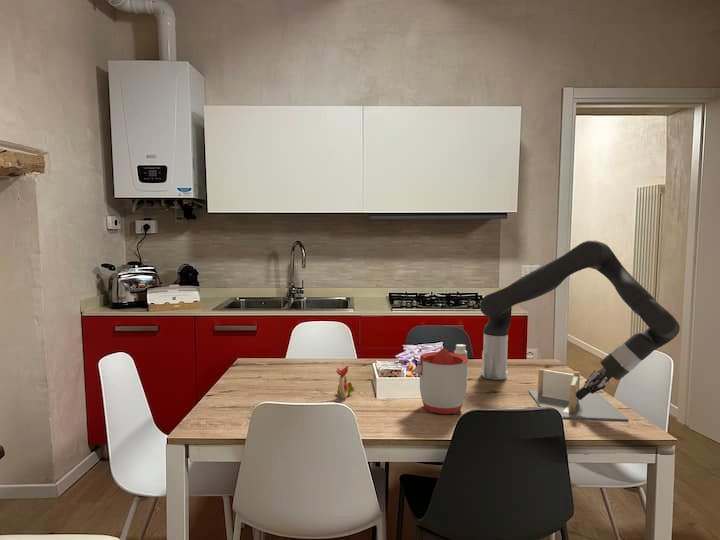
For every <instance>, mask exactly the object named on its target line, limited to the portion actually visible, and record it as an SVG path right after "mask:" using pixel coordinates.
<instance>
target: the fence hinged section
mask: <svg viewBox="0 0 720 540" xmlns="http://www.w3.org/2000/svg"><path fill="white" fill-rule="evenodd" d="M577 391H578V376H574V378H573V381H572V383H571V384H570V388H569V412H571V413H575V407H576V404H577V397H576V392H577Z"/></svg>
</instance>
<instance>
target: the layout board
mask: <svg viewBox="0 0 720 540" xmlns="http://www.w3.org/2000/svg"><path fill="white" fill-rule="evenodd" d="M528 393H529V395H530V396H531V398H534V399H535V400H534V399H533V400H534V401H535V402H537V403H538V404H539V405H540V407H544V406H548V407H554V408H556V409H558V410H559V411H560V413H561V414H562V417H563V419H564V418H571V419H570V420H587V419H596V420H595V421H614V422H615V421H616V422H619V421H621V422H622V421H623V422H629V421H630V420H629V418H628V417H627V416H626V415H625V414H624V413H622V412H621V411H620V410H618V408H616V407H615V406H614V405H613V404H612V403H610V402H609V401H608V400H607V399H606V398H605V397H603V395H602V394H600V393H598V392H595V393H593V394H592V393H589V394H587V395H586V396H585V397H584V398H582V399H581V400H579V402H577V404H576V407H575V413H571V412H569V400H564V399H559V398H553V397H548V396H543V395H538V390H528ZM537 403H536V404H537ZM538 404H537V405H538ZM539 405H538V406H539ZM540 407H539V408H540Z"/></svg>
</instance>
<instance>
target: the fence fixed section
mask: <svg viewBox="0 0 720 540" xmlns="http://www.w3.org/2000/svg"><path fill="white" fill-rule="evenodd" d="M537 375H538V377H537V378H538V379H537V391H538V395H543V396H548V397H553V398H559V399H564V400H569V388H570V384H571V383H572V381H573V378H574V376H578V391H579V390H580V383H581V382H580V377H581V372H580V371H577V370H576V371H573V373H569V372H561V371H556V370H555V371H554V370H549V369H544V368H538V374H537ZM577 402H579V399H578V398H577Z"/></svg>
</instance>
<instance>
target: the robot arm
mask: <svg viewBox="0 0 720 540" xmlns="http://www.w3.org/2000/svg"><path fill="white" fill-rule="evenodd" d="M588 268H589V269H592V270H596V271H597V272H599V273H600V274H601V275H603V276H604V277H605V278H606V279H607V280H608V281H609V282H610V283H611V284H612V286H613V287H614V289H615V291H616V292H617V294H618V295H619V297H620V298H621V299H622V301H623V302H624V303H625V304H626V305H627V306H628V307H629V308H630V309H631V310H632V311H633V312H634V313H635V314H636V315H637V316H639V317H640V318H641V320H642V321H643V322H644V323H645V324H646V326H647V328H646V329H645V330H644V331H642V332H636V333H635V334H633V335H632V336H631V337H629V338H628V339H627V340H626V341H625V342H623V343H622V344H621V345H618V346H617V347H616V348H615V349H613V351H611V352H609V353H608V354H607V355H606V356H605V357H604V358H602V359H601V360H600V363H599V364H600V366H602V368H600V369H597V370H594V371H593V372H592V373H591V374H590V376H589V377H588V378H587V379H586V381H584V384H583V386H582V387H581V388H579V391H577V392H576V397H577V398H578V399H579V400H581V399H582V398H584V397H585V396H586V395H587V394H589V393H592V394H593V393H598V392H599V391H601V390H603V389H605V388H606V385H608V384H609V383H610V380H611V379H612V378H614V380H615V381H620V380H621V379H622V378H624V377H625V376H627V375H628V374H629V373H630V372H631V371H633V370H634V369H635V368H636V367H637V366H638V365H640V363H641V362H642V361H644V360H645V359H646V358H647V357H649V356H650V355H651V354H652V353H653V352H654V351H656V350H658V349H660V348H661V347H663V346H665V345H666V344H668V343H670V342H671V341H672V340H674V339H675V338H676V337H677V336H678V334H679V333H680V329H681V327H680V323H679V322H678V320H677V319H676V318H675V317H674V315H672V314H671V313H670V312H669V311H668V310H667V309H666V308H665V307H664V306H663V305H661V304H660V303H659V302H658V301H657V300H656V299H655V298H654V296H652V294H650V292H649V291H648V290H646V288H645V287H644V286H642V284H640V283H639V282H638V281H637V279H636V278H634V276H632V275H631V274H630V273H629V271H628V270H627V269H626V268H625V267H624V265H622V263H621V262H620V260H619V259H618V257H617V256H616V255H615V253H614V251H613V250H612V249H611V248H610V247H609V245H608V244H606V243H603V242H601V241H598V240H594V239H590V240H589V239H588V240H585V241H582V242H581V243H579V244H578V245H576V246H575V247H573V248H572V249H570V250H569V251H567V252H566V253H565V254H563V255H561V256H560V257H557V258H556V259H554V260H552V261H550V262H548V263H546V264H544V265H542V266H540V267H538V268H536V269H534V270H533V271H530V272H529V273H527V274H525V275H524V276H523V277H520V278H519V279H516V280H515V281H514V282H513V283H511V284H509V285H508V286H505V287H504V288H502V289H499V290H496V291H495V292H492V293H491V292H490V293H489V294H486V295H484V297H483V298H482V299H481V300H480V304H479V305H480V306H479V307H480V308H479V309H480V312H481V313H482V314H483V315H484V316H486V317H488V318H489V319H488V321H487V323H486V324H485V325H484V327H483V346H482V347H483V348H482V349H483V350H482V351H481V376H482V377H483V379H488V380H493V381H494V380H495V381H501V380H503V381H504V380H506V379H507V375H508V347H509V345H508V341H509V329H510V327H511V321H512V312H513V311H512V307H514V306H516V305H518V304H521V303H524V302H527V301H531V300H534V299H537V298H539V297H542V296H544V295H547V294H548V293H550V292H552V291H554V290H556V289H557V288H558V287H559V286H560V285H561V284H562V283H563V282H564V281H565V279H567V278H568V277H569V276H571V275H573V274H575V273H577V272H580V271H582V270H585V269H588Z"/></svg>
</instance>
